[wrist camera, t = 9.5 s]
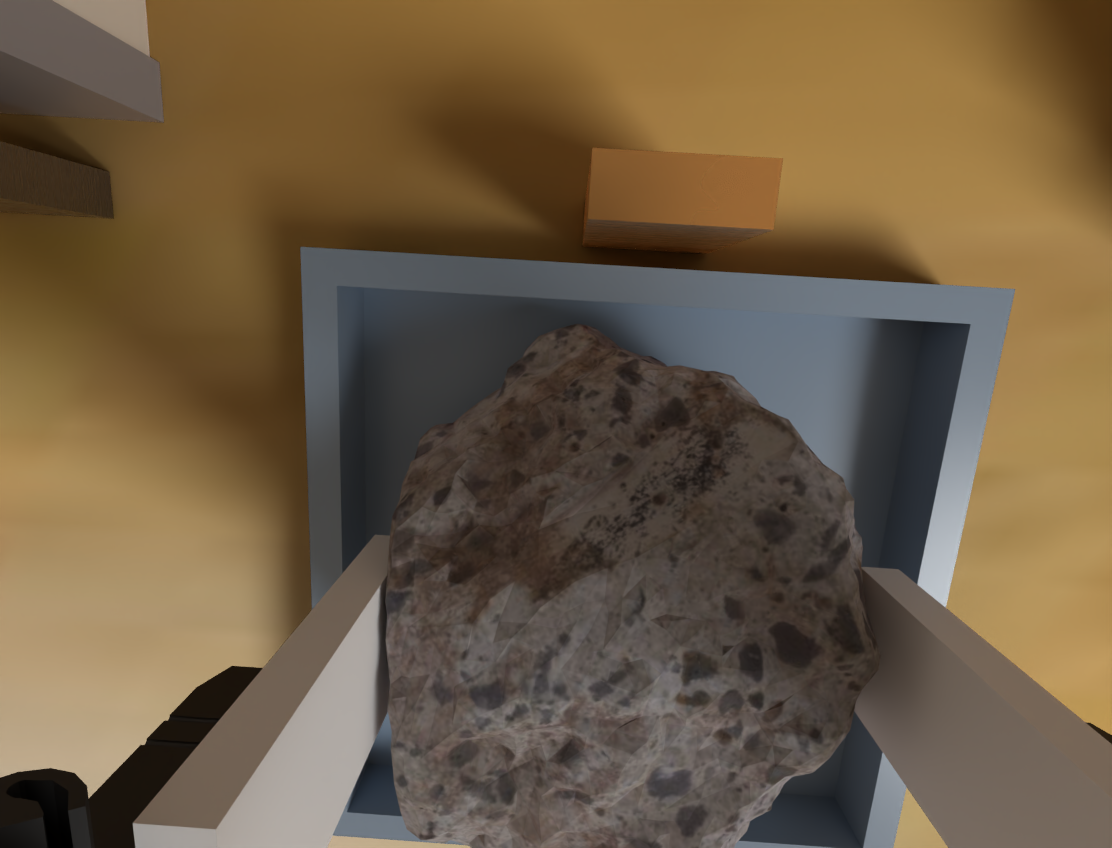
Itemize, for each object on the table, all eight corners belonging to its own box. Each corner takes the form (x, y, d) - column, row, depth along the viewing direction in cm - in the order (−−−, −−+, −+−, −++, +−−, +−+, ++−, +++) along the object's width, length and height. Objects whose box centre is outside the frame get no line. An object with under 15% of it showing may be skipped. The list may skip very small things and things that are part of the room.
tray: (340, 254, 13) (300, 246, 11) (948, 290, 13) (1014, 289, 11) (349, 769, 16) (319, 834, 14) (848, 805, 16) (887, 875, 14)
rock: (440, 830, 13) (390, 1018, 9) (415, 341, 13) (353, 299, 9) (840, 804, 13) (976, 976, 9) (809, 320, 13) (929, 269, 9)
